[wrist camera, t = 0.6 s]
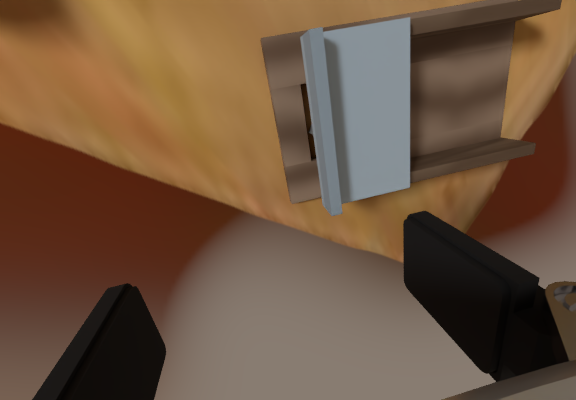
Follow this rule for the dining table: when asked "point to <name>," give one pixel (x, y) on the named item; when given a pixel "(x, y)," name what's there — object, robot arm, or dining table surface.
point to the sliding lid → (359, 109)
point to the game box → (421, 91)
